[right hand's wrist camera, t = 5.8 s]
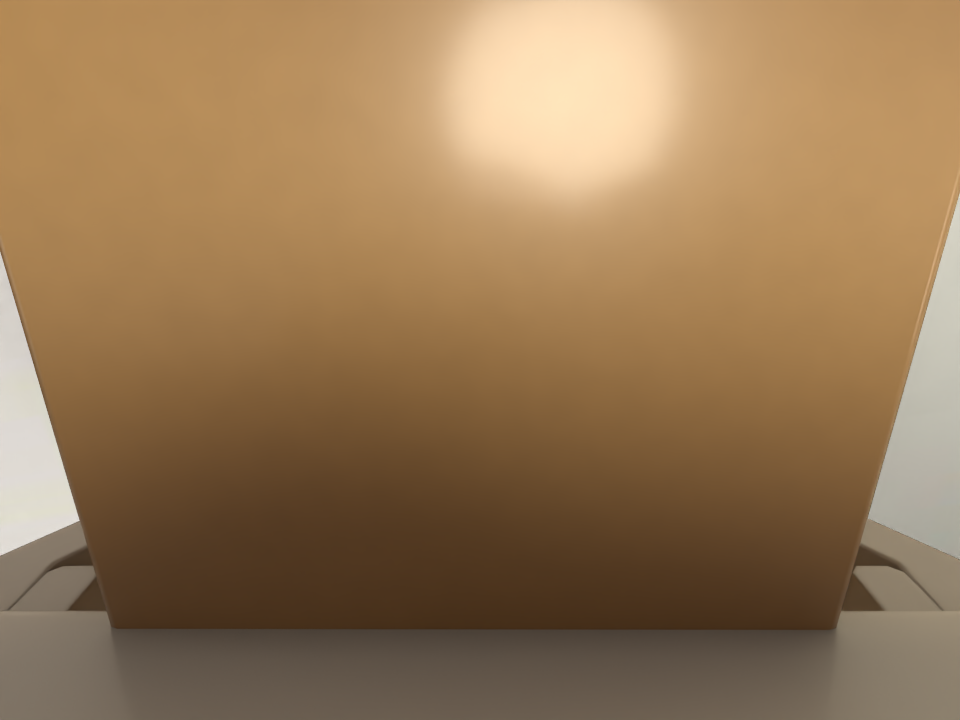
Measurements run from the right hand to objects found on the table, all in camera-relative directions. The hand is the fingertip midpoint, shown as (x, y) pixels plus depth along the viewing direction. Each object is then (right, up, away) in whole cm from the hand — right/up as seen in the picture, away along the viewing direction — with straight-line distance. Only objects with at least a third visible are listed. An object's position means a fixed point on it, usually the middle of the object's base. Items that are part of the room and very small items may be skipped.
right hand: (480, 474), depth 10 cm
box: (0, +10, +4) cm, 11 cm away
